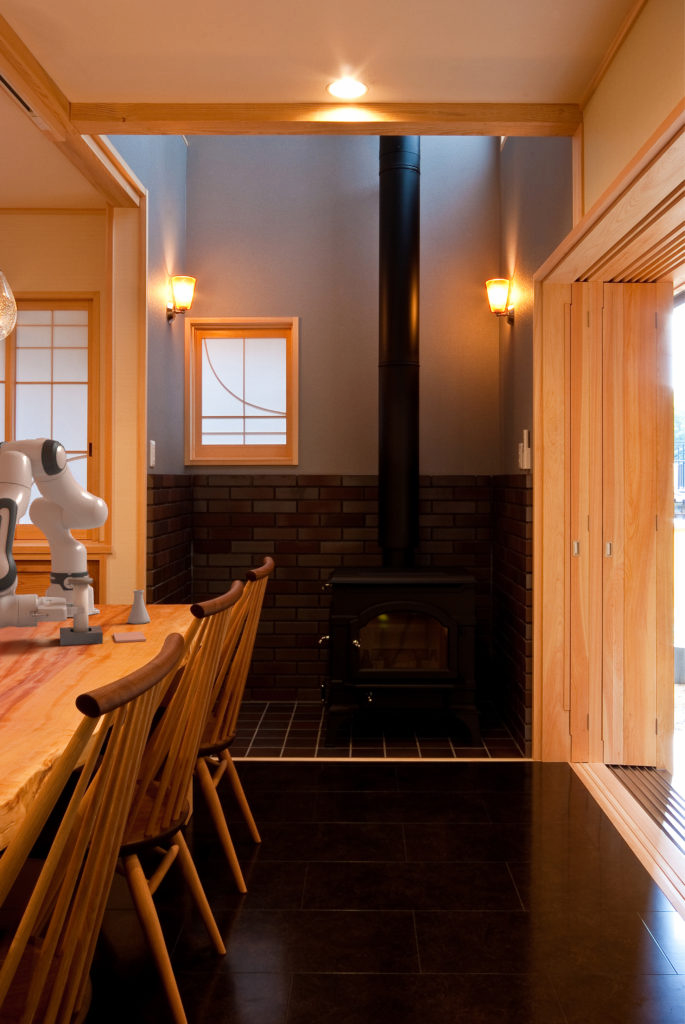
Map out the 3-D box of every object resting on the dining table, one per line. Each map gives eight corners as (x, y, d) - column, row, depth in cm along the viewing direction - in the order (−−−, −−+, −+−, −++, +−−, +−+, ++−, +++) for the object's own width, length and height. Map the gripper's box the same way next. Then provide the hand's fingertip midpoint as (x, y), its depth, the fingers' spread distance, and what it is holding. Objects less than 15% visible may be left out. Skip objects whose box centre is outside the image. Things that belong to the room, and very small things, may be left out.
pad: (113, 635, 248) (113, 633, 248) (141, 633, 251) (141, 631, 251) (116, 642, 237) (116, 640, 237) (146, 641, 239) (146, 639, 239)
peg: (68, 639, 242) (68, 577, 241) (92, 638, 244) (92, 577, 243) (69, 643, 236) (68, 580, 235) (93, 642, 238) (93, 579, 237)
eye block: (59, 638, 243) (59, 627, 243) (100, 636, 247) (100, 625, 247) (60, 645, 233) (60, 634, 233) (102, 643, 236) (102, 632, 236)
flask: (144, 624, 266) (144, 592, 265) (122, 624, 267) (122, 591, 267) (154, 621, 273) (154, 589, 273) (132, 620, 274) (132, 588, 274)
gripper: (29, 604, 225) (85, 602, 230) (31, 594, 245) (82, 592, 249) (30, 628, 226) (85, 625, 230) (31, 616, 245) (82, 614, 249)
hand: (84, 608), depth 240 cm, fingers closed on peg, 4 cm apart
